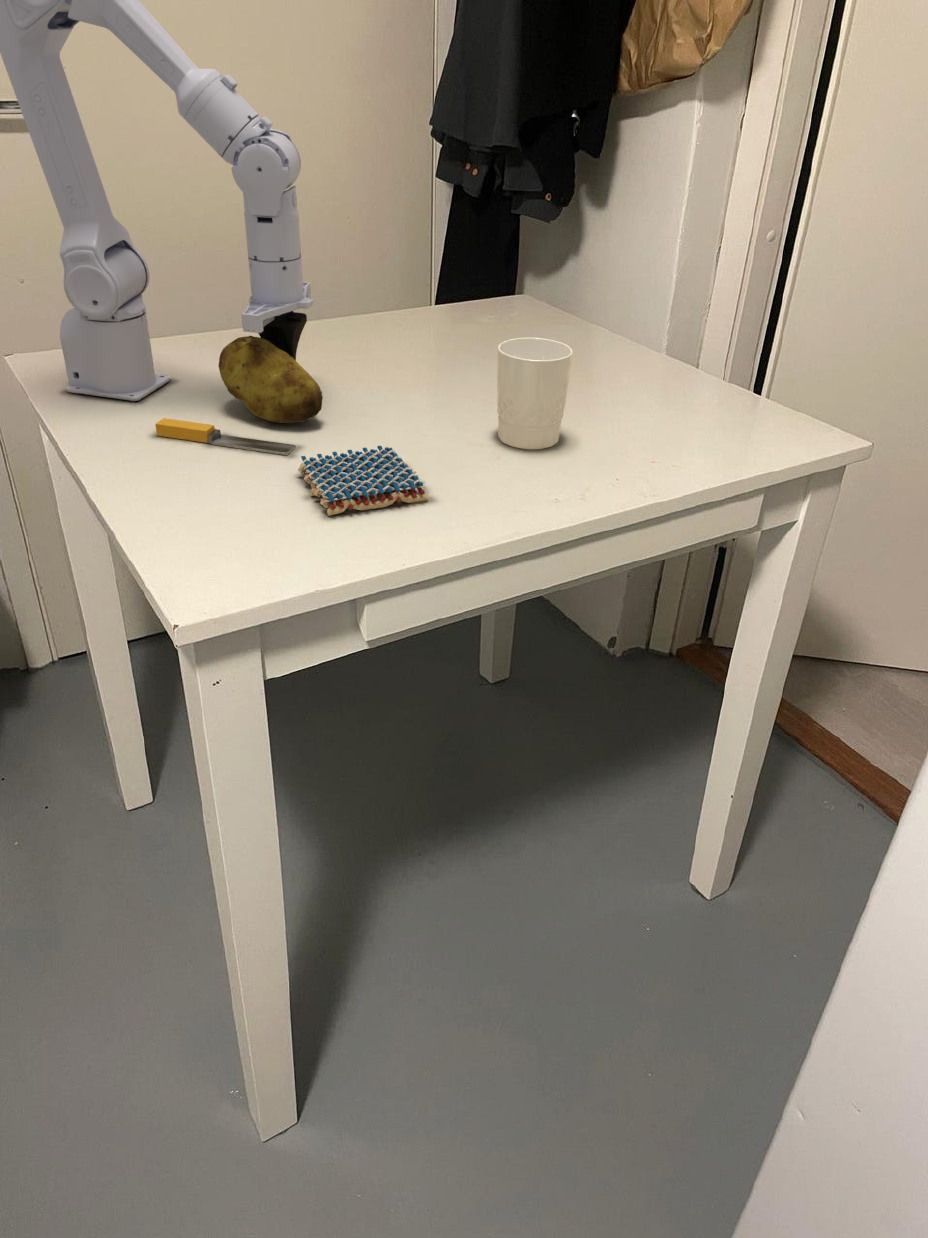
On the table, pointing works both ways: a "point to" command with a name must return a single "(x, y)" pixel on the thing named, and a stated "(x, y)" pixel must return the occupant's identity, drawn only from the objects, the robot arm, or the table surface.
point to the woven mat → (362, 480)
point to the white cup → (532, 391)
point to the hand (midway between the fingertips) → (283, 377)
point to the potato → (269, 381)
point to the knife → (216, 436)
